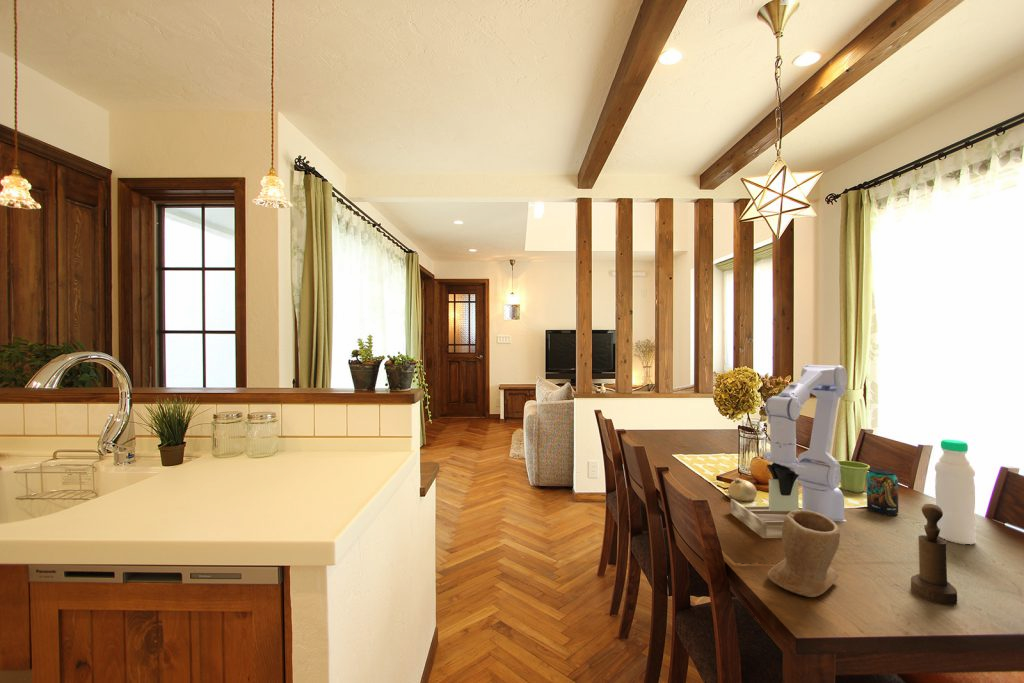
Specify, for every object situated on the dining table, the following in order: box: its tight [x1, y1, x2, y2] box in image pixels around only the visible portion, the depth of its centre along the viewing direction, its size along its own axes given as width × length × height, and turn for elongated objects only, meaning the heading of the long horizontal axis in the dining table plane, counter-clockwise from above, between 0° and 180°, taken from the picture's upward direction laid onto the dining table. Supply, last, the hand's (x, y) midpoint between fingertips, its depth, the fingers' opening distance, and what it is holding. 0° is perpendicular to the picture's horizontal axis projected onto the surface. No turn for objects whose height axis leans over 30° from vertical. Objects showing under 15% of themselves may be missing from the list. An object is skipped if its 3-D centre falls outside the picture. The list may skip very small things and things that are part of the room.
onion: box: [727, 477, 758, 502], centre depth 136 cm, size 8×8×7 cm
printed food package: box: [866, 467, 899, 516], centre depth 126 cm, size 7×7×12 cm
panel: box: [768, 478, 800, 511], centre depth 112 cm, size 1×7×8 cm, turn 89°
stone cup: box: [767, 510, 841, 598], centre depth 89 cm, size 15×12×15 cm
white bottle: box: [934, 439, 977, 545], centre depth 108 cm, size 7×7×25 cm
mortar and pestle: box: [910, 503, 958, 606], centre depth 84 cm, size 7×6×18 cm
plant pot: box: [837, 460, 871, 493], centre depth 145 cm, size 9×9×9 cm
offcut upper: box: [755, 514, 786, 521], centre depth 117 cm, size 4×10×1 cm, turn 86°
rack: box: [730, 498, 803, 539], centre depth 117 cm, size 16×16×5 cm
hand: (783, 493), depth 112 cm, fingers closed on panel, 1 cm apart
